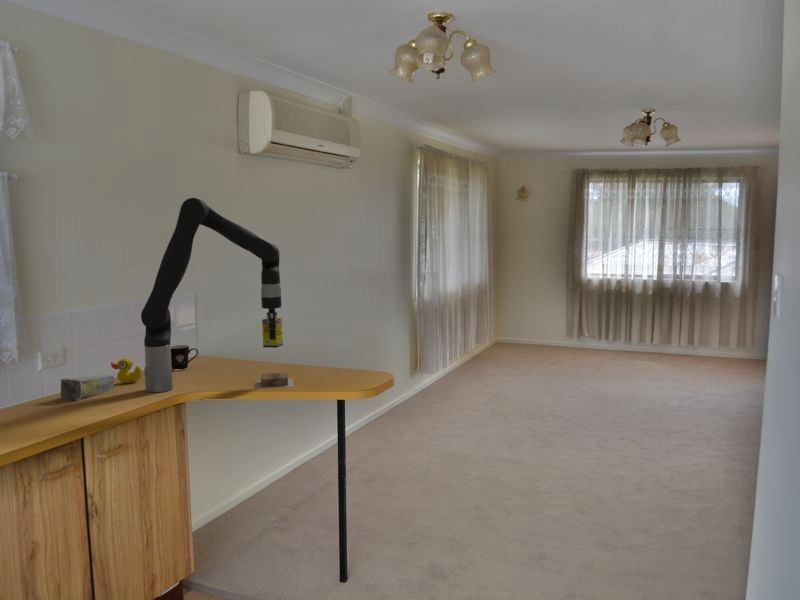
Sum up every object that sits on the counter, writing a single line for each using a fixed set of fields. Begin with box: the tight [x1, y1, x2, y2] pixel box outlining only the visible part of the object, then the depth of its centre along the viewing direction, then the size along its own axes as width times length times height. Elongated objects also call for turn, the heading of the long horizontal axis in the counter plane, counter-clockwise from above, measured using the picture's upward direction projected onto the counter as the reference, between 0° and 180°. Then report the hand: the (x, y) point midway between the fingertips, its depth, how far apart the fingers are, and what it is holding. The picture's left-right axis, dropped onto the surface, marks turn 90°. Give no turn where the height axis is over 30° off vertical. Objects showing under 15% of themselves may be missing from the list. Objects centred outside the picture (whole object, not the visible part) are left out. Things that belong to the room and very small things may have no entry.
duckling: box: [110, 358, 143, 384], centre depth 254 cm, size 11×5×10 cm, turn 109°
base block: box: [260, 372, 289, 387], centre depth 248 cm, size 10×10×3 cm
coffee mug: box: [171, 344, 199, 369], centre depth 280 cm, size 12×9×10 cm
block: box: [60, 374, 115, 402], centre depth 236 cm, size 19×8×8 cm, turn 157°
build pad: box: [255, 378, 294, 390], centre depth 248 cm, size 14×14×1 cm
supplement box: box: [261, 317, 284, 349], centre depth 246 cm, size 6×6×11 cm
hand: (272, 337), depth 246 cm, fingers closed on supplement box, 7 cm apart
